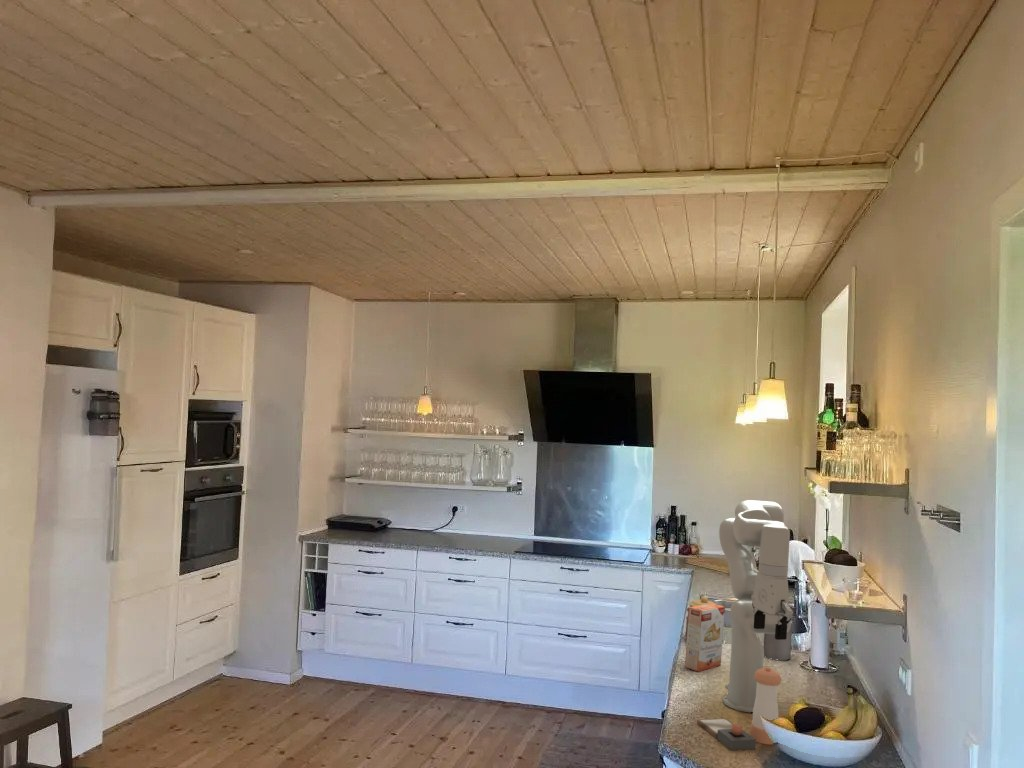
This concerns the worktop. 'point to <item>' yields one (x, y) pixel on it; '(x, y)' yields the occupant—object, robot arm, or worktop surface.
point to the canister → (696, 603)
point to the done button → (736, 729)
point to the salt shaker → (765, 702)
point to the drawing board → (715, 725)
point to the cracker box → (704, 636)
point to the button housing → (736, 740)
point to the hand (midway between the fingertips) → (769, 633)
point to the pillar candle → (777, 646)
